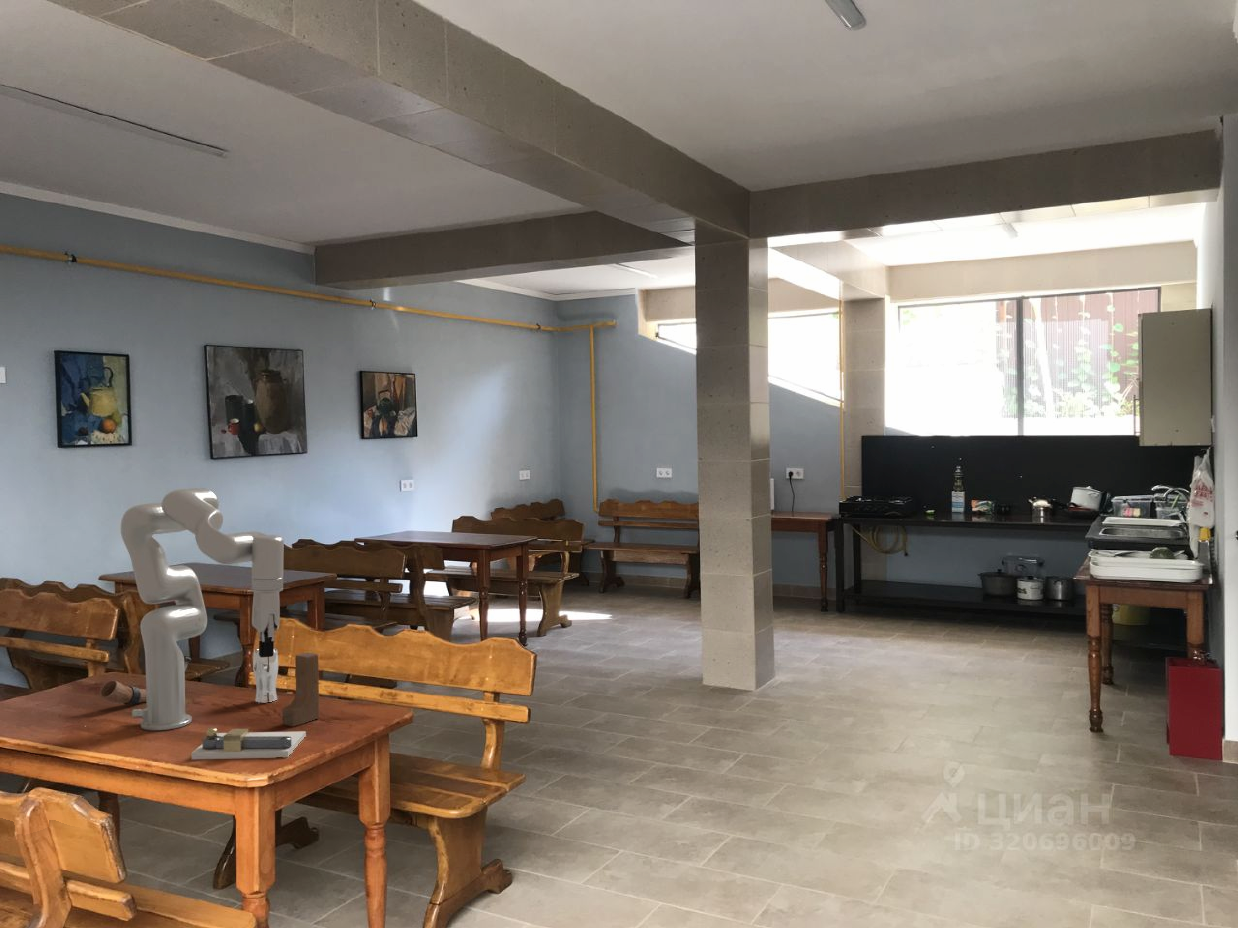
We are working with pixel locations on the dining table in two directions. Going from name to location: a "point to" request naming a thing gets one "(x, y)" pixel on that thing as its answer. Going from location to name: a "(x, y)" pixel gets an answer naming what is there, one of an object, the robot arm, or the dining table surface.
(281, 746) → the link
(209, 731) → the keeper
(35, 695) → the dining table surface
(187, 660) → the drinking horn
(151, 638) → the robot arm
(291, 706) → the wooden block
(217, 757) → the base plate
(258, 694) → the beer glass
